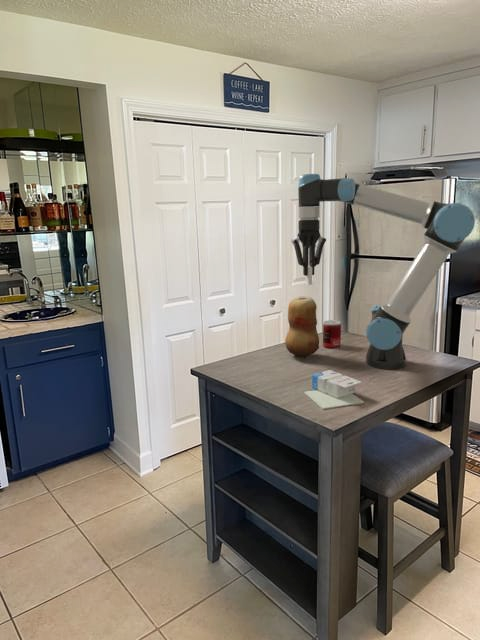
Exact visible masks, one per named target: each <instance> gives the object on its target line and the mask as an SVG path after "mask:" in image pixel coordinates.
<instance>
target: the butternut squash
mask: <svg viewBox="0 0 480 640" xmlns="http://www.w3.org/2000/svg"><path fill="white" fill-rule="evenodd" d="M317 308H318V307H317V303H316V301H315V300H314V299H313V298H312V297H309V296H298V297H294V298H292V299H291V300H290V301H289V302H288V310H287V312H288V313H287V320H288V321H287V322H288V325H289V328H288V330H287V334H286V337H285V347H286V349H287V351H288V352H289V354H292V355H294V356H296V357H297V358H307V357H308V356H310V355H314V354H316V352H317V351H318V350H319V349H320V338H319V337H320V336H319V333H318V330H317V325H318V320H317Z"/></svg>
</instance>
